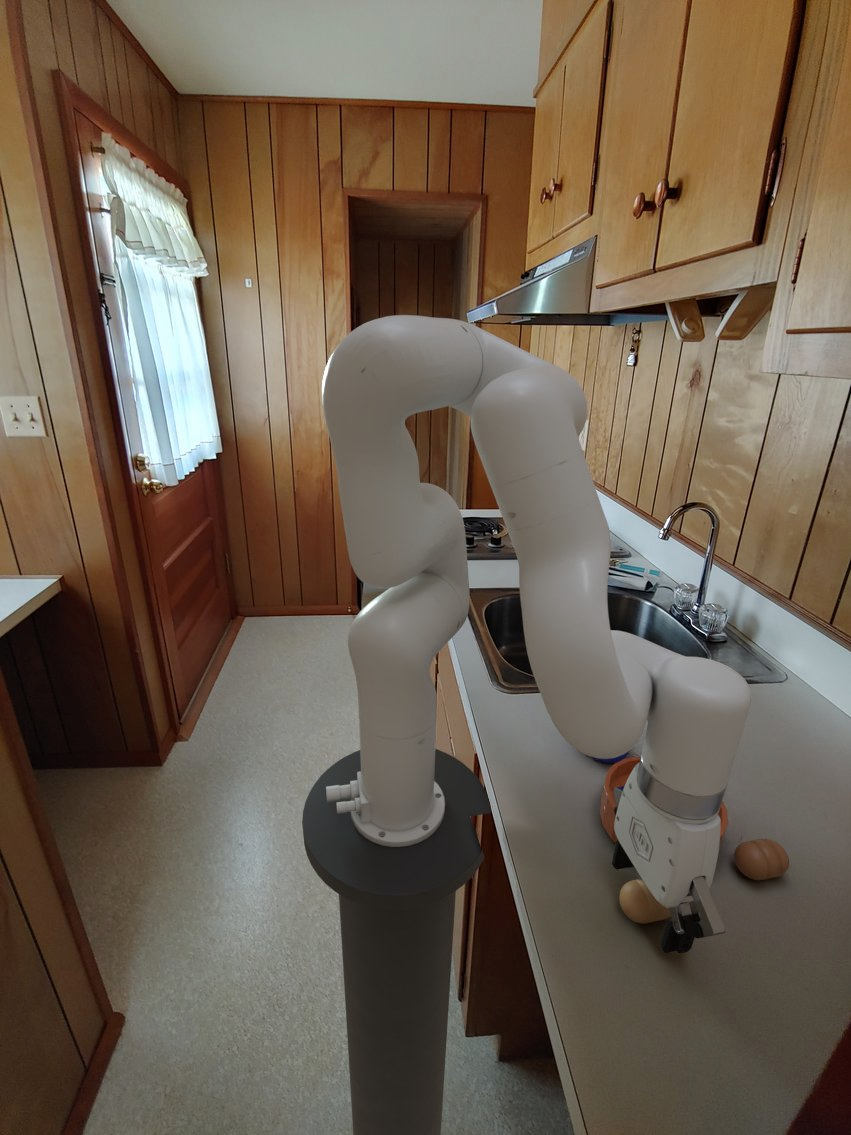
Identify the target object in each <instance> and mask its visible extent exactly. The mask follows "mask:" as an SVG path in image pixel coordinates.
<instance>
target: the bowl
mask: <svg viewBox="0 0 851 1135" xmlns="http://www.w3.org/2000/svg"><path fill="white" fill-rule="evenodd" d="M640 759H641V755H639V756H632V757H625V758H624V759H623V760H621V761H619V762H616V763H613V765H612V766H611V767H610V768H609V769H608V771H607V772H606V774H605V779H604V784H603V790H602V794H601V799H600V804H599V810H598V811H599V815H600V820H601V825H602V827H603V828H604V830H605V831H606V833H607V835H608V836H609V838H610V839H611V841H613V842H614V843H615V844H616V841H618V838H617V837H616V835H615V830H614V824H615V818H616V816H615V814H614V808H615V807H617V805H616V804H615V797H614V788H615V787H621V786H625V784H626V782H627V779H628V778H629V776H630V774H631V772H632V770H633V769H634V767H635V766H636V765H637V764H638V763H640ZM718 815H719V817H720V819H721V829H720V844H719V852H718V854H719V853H720V850H721V847H722V844H723V841H724V837H725V835H726V832H727V829H728V826H729V818H728V817H729V816H728V810H727V807H726V804H725V803H724V800H722V804H721V807H720V811H719V813H718Z"/></svg>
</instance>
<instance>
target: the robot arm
mask: <svg viewBox="0 0 851 1135" xmlns="http://www.w3.org/2000/svg"><path fill="white" fill-rule="evenodd" d="M586 397H587V396H586V394H585V392H584V390H583V387H582V386H581V384H580V383H579V381H578V380H577V378H575V377H574V376H573V375H571V374H570V373H569V372H568V371H566V369H563V368H562V367H559V366H558V365H556V364H553V363H551V362H550V361H548V360H545V359H544V358H541V357H539V356H537V355H535V354H533V353H531V352H529V351H527V350H525V349H523V348H521V347H519V346H516V345H514V344H512V343H510V342H508V341H506V340H505V339H503V338H501V337H498V336H497V335H494V334H493V333H491V332H489V331H486V330H485V329H483V328H481V327H479V326H476V325H474V324H472V323H470V322H467V321H464V320H460V319H455V318H448V317H447V318H446V317H432V316H425V315H416V314H415V315H414V314H396V315H395V314H394V315H387V316H383V317H379V318H375V319H372V320H370V321H366V322H365V323H362V324H361V325H359V326H357V327H356V328H354V329H353V330H352V331H350V332H349V333H348V334H346V335H345V337H343V338H342V339H341V341H340V342H339V343H338V344H337V346H336V347H335V348H334V350H333V351H332V354H331V355H330V357H329V359H328V362H327V364H326V366H325V370H324V374H323V378H322V384H321V405H322V411H323V412H322V413H323V417H324V422H325V425H326V430H327V434H328V437H329V441H330V445H331V449H332V454H333V458H334V463H335V470H336V476H337V478H336V479H337V487H338V488H337V489H338V493H339V494H338V495H339V501H340V507H341V514H342V520H343V528H344V533H345V534H344V535H345V540H346V546H347V547H346V548H347V554H348V558H349V561H350V562H349V563H350V566H351V567H352V569H353V572H354V573H355V575H356V577H357V578H358V580H360V581H361V582H362V583H363V584H364V585H366V586H367V587H370V588H374V589H378V590H379V589H380V590H384V589H386V590H385V591H383V592H382V593H380V594H379V595H378V596H377V597H375V598H373V599H372V600H371V601H370V602H369V603H367V604H366V605H365V606H364V607H363V608H362V609H361V610H360V611H359V612H358V613H357V615H355V618H354V619H353V621H352V623H351V625H350V628H349V630H348V634H347V647H348V652H349V657H350V660H351V664H352V667H353V668H352V669H353V671H354V675H355V681H356V689H357V702H358V703H357V704H358V705H357V706H358V720H359V721H358V722H359V724H358V725H359V726H358V727H359V750H360V757H361V772H357V780H355V781H350V784H349V785H342V786H339V785H335V786H328V787H326V795H327V802H332V801H339V800H341V799H348V798H351V801H348V802H346V801H344V802H337V814H340V813H347V812H351V819H352V821H353V823H354V826H355V827H356V829H357V830H358V831H359V833H361V834H362V835H363V836H364V837H365V838H367V839H368V840H370V841H372V842H374V843H377V844H380V845H383V846H389V847H404V846H410V845H413V844H416V843H419V842H421V841H423V840H425V839H427V838H428V837H429V836H431V835H432V834H433V833H434V832H435V831H436V830H437V829H438V827H439V826H440V824H441V822H442V820H443V817H444V813H445V799H444V795H443V792H442V790H441V788H440V787H439V785H438V784H437V783H436V782H435V781H434V774H435V749H436V746H437V745H436V744H437V719H438V718H437V716H438V715H437V712H438V711H437V706H438V699H437V690H436V686H435V683H434V682H433V679H432V676H431V672H430V671H431V665H432V662H433V660H434V659H435V657H436V656H437V654H438V653H440V652H441V651H442V650H443V648H444V647H445V646H446V645H447V644H448V643H449V642H450V640H451V639H453V637H455V636H456V635H457V633H458V632H459V631H460V630H461V629H462V627H463V626H464V624H465V623H466V620H467V619H468V615H469V613H470V612H469V611H470V602H471V600H470V599H471V596H470V595H471V594H470V592H471V591H470V578H469V563H468V551H467V550H468V549H467V537H466V528H465V522H464V518H463V515H462V511H461V510H460V508H459V505H458V504H457V501H456V500H455V499H454V498H453V497H452V496H451V495H450V494H449V493H448V492H447V491H446V490H445V489H444V488H442V487H440V486H438V485H436V484H433V483H428V482H421V479H420V463H419V457H418V452H417V449H416V445H415V443H414V440H413V439H412V436H411V434H410V432H409V430H408V428H407V426H406V420H407V419H408V418H409V417H411V416H412V415H415V414H418V413H423V412H428V411H434V410H437V409H442V408H447V407H449V408H453V409H454V410H456V411H459V412H461V413H463V414H464V415H466V416H468V417H469V422H470V431H471V434H472V439H473V442H474V445H475V448H476V450H477V454H478V456H479V459H480V461H481V464H482V467H483V469H484V472H485V475H486V477H487V480H488V483H489V485H490V488H491V491H492V493H493V496H494V498H495V501H496V504H497V506H498V509H499V512H500V514H501V517H502V520H503V522H504V526H505V528H506V531H507V533H508V536H509V539H510V542H511V544H512V547H513V550H514V552H515V556H516V558H517V563H518V584H519V598H520V608H521V617H522V627H523V636H524V642H525V647H526V653H527V657H528V661H529V665H530V666H529V667H530V669H531V672H532V675H533V677H534V681H535V683H536V685H537V686H536V687H537V689H538V691H539V693H540V696H541V698H542V701H543V704H544V706H545V708H546V711H547V713H548V715H549V717H550V720H551V722H552V723H553V725H554V727H555V728H556V730H557V731H558V733H559V734H560V736H561V737H562V738H563V739H564V740H565V741H566V742H567V743H568V744H569V745H570V746H571V747H572V748H573V749H574V750H577V751H578V752H579V753H581V754H583V755H586V756H588V757H591V758H592V757H595V758H600V759H610V758H615V757H618V756H621V755H623V754H625V753H627V752H628V751H629V752H630V751H631V750H632V749H633V748H634V747H635V746H636V745H637V744H638V742H639V741H640V740H641V739H640V738H641V737H642V735H643V732H644V729H645V727H646V729H645V730H646V731H645V736H644V740H643V745H642V750H641V755H640V756H641V759H640V763H638V764H637V765H636V766H635V767H634V769H633V770H632V772H631V774H630V776H629V778H628V779H627V782H626V784H625V786H621V787H615V788H614V797H615V804H616V805H617V807H615V808H614V814H615V816H616V818H615V824H614V830H615V835H616V837H617V838H618V841H616V843H615V845H614V847H615V848H614V851H613V856H612V861H611V865H612V867H613V869H614V870H617V871H619V870H625V869H629V868H634V869H635V870H636V872H637V874H638V875H639V876H640V879H643V881H644V883H645V884H646V886H647V887H648V889H649V890H650V892H651V893H652V895H653V896H654V897H655V899H656V900H657V901H658V902H659V903H660V904H661V905H663V906H664V907H666V908H669V909H670V914H671V916H670V919H669V920H667V921H666V923H665V927H664V930H663V934H662V938H661V940H660V950H661V951H662V953H663V954H670V953H675V952H676V953H677V954H686V953H688V952H689V951H691V949H692V948H693V944H694V941H695V939H702V938H707V937H714V936H719V935H723V934H726V926H725V924H724V922H723V919H722V916H721V915H720V912H719V910H718V907H717V905H716V903H715V901H714V898H713V895H712V894H711V891H710V889H711V887H712V884H713V881H714V876H715V873H716V868H717V863H718V857H719V853H720V850H719V844H720V829H721V819H720V817H719V815H718V813H719V811H720V807H721V804H722V801H724V796H725V794H726V790H727V786H728V782H729V780H730V776H731V773H732V770H733V766H734V764H735V760H736V756H737V753H738V750H739V747H740V743H741V740H742V738H743V734H744V730H745V727H746V723H747V720H748V717H749V714H750V710H751V705H752V701H753V700H752V690H751V688H750V685H749V684H748V682H747V680H746V679H745V678H744V677H743V676H742V675H741V674H740V673H739V672H738V671H736V670H735V669H733V667H730V666H729V665H727V664H724V663H722V662H719V661H717V660H714V659H711V658H706V657H702V656H701V657H699V656H685V655H683V654H680V653H677V652H675V651H673V650H670V649H667V648H666V647H663V646H661V645H659V644H656V643H655V642H652V641H650V640H647V639H646V638H643V637H641V636H638V635H635V634H633V633H630V632H627V631H622V630H614V629H613V630H612V629H611V624H610V617H609V605H608V604H609V603H608V584H609V572H610V563H611V532H610V526H609V523H608V520H607V518H606V515H605V512H604V510H603V509H604V508H603V507H602V504H601V500H600V497H599V494H598V492H597V488H596V486H595V483H594V480H593V477H592V474H591V471H590V469H589V468H590V467H589V466H588V463H587V459H586V457H585V453H584V451H583V448H582V444H581V441H580V438H579V437H580V435H581V433H582V432H583V431H584V428H585V426H586V422H587V419H588V412H589V411H588V401H587V398H586ZM646 724H647V725H646ZM718 852H719V853H718ZM687 903H688V905H689V909H690V913H688V914H684V915H683V913H682V912H683V911H682V907H681V905H683V904H687Z"/></svg>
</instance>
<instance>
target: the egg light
mask: <svg viewBox="0 0 851 1135" xmlns="http://www.w3.org/2000/svg"><path fill="white" fill-rule="evenodd" d="M619 904H620V907H621V910H622V912H623V913H624V914H625V916H626V917H628V919H630V920H631V921H633V922H634V923H639V924H649V923H654V922H660V921H663V920H668V919H669V918H671V914H670V909H669V908H666V907H664V906H663V905H661V904H660V903H659V902H658V901H657V900H656V899H655V897H654V896H653V895H652V893H651V892H650V890H649V889H648V887H647V886H646V884H645V883H644V881H643V879H642V878H637V879H632V880H630V881H629V880H628V881H627V882H625V883H624V885H622V886H621V889H620V891H619Z"/></svg>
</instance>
